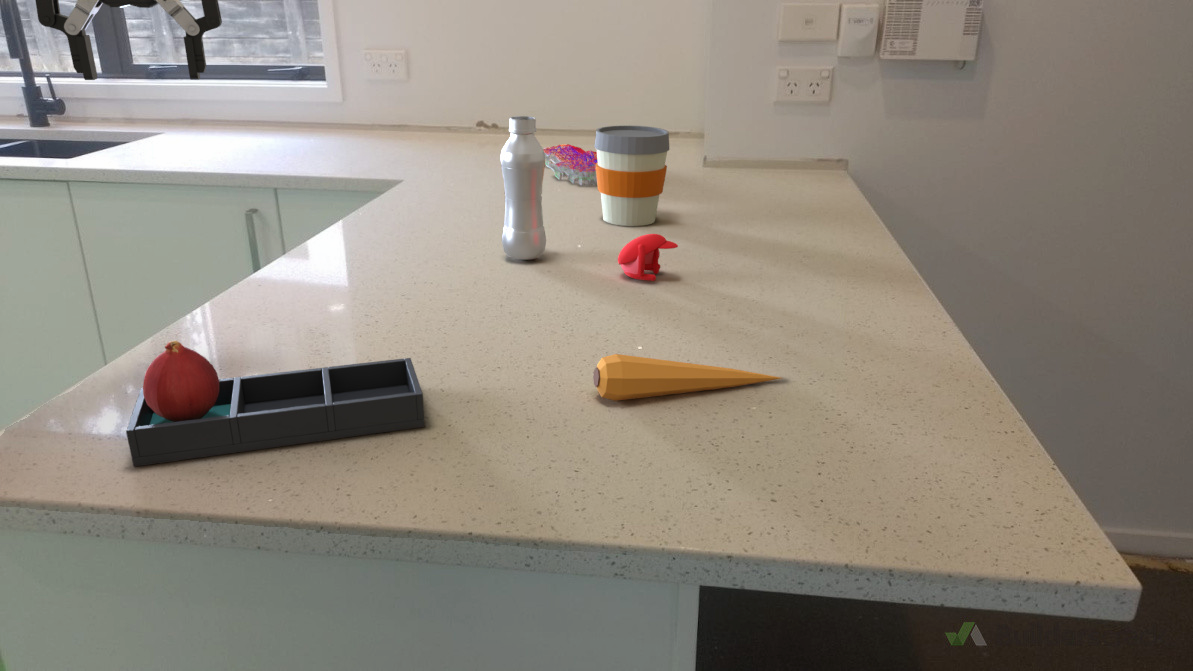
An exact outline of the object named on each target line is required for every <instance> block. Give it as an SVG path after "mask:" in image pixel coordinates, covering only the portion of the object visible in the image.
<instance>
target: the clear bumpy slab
mask: <svg viewBox="0 0 1193 671" xmlns="http://www.w3.org/2000/svg"><path fill="white" fill-rule="evenodd" d="M542 148H543V147H542ZM543 150H544V153H545V157H546V158H545V167H547V168H548V169H550V170H552V171H553V172H554V176H555V177H556V179H558V180H559V181H570V183H571V184H573V185H577V184H578V185H580V186H581V187H585V186H589V185H590V183H594V186H597V175H596V163H597V162H598V160H597V151H594V150H584V149H583V148H581V147H580V146H575V145H573V144H569V143H567V144H564V143H562V144H557V145H556V146H555V145H553V146H550V147H549V146H548V147H544V148H543ZM585 183H586V184H585ZM584 184H585V185H584Z"/></svg>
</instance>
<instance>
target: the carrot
mask: <svg viewBox="0 0 1193 671" xmlns="http://www.w3.org/2000/svg"><path fill="white" fill-rule="evenodd" d="M592 378H593V379H592V381H593V385H594V387H595V388H596V390H597V392H598V394H599V395H600V397H601V398H603V399H607V400H611V401H613V402H616V401H626V400H635V399H641V398H642V399H643V398H652V397H659V396H670V395H678V394H685V393H694V392H701V391H702V392H703V391H711V390H719V389H728V388H736V387H742V386H748V385H753V384H758V383H763V382H770V381H775V380H776V381H777V380H780V379H783V377H781V376H774V375H769V374H764V373H759V372H753V371H748V370H742V369H737V368H729V367H723V366H722V367H721V366H714V365H708V364H707V365H706V364H700V363H699V364H698V363H692V362H691V363H689V362H682V361H675V360H669V359H668V360H667V359H659V358H651V357H643V356H636V355H635V356H634V355H626V354H619V353H614V354H610V355H606V356H603V357H601V358H600V360H599V361H598V363H597V365H596V367H595V368H594V370H593V375H592Z"/></svg>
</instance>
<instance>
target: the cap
mask: <svg viewBox="0 0 1193 671" xmlns="http://www.w3.org/2000/svg"><path fill="white" fill-rule="evenodd" d="M678 247H679V245H678V244H677V243H676V242H674V241H670V240H667V239H666V237H665V236H663V235H661V234H658V233H647V234H643V235H640V236H637V237H636V238H633V239H632V240H630V241H629V242H627V243H626V244H625V245H624V246H623V247H622V249H621V250H619V251H620V252H619V253H618V255H617V263H618V265H619V266H620V267H621V269H622V271H623V272H624V274H625V275H626V276H627V277H629V278H630V279H635V280H640V281H649V282H655V281H656V279H657V276H656V275H658V274H659V273H660V269H661V264H660V263H659V259H660V257H661V256H660V253H661V252H660V250H673V249H675V248H678ZM645 271H647V272H648V271H649V272H653V274H651V273H645Z"/></svg>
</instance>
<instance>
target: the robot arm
mask: <svg viewBox="0 0 1193 671" xmlns="http://www.w3.org/2000/svg"><path fill="white" fill-rule="evenodd" d="M200 1H201V6H202V11H203V16H201V17H198V18H195V16H194V15H193V14H192V13H191V12H190V11H189V10H188V9H187V7H186V6H185V4H183V3H182V1H180V0H76V2H75V4H74V7H73V9H72V10H71V12H70V14H69V15H68V16H67V15H64V14H62V13H61V8H60V2H59V0H35V7H36V14H37V19H38V22H39V24H40V25H41V26H42V27H46V28H51V29H54V30H57V31H60V32H62V33H63V34H64V35H65V36H66V38H67V43H68V46H69V47H68V48H69V52H70V56H71V61H72V62H71V63H72V67H73V69H74V70H75V72H76V73H77V74H82V76H83V79H84V81H95V80H97V79H98V71H97V66H96V62H95V57H94V52H93V46H92V41H91V36H90V34H87V32H86V31H87V28H88V26H89V25H90V23H91V22H92V20H93V19H94V17H95V15H96V14H97V13H98V12H99V10H100V9H101V7H102V5H105V6H107V7H109V8H124V7H128V6H132V7H136V8H139V9H140V8H143V9H150V8H153V7H156V6H158V5H159V6H160V7H161V8H162V9H163V10H164V11H165V12H166V14H168V16H170V17H171V18H172V19H173V20H174V21H175V22H176V23H177V24H178V25H179V26H180V27H181V29H183V30H184V31H185V32H184V33H185V36H183V44H184V48H185V56H186V62H187V69H188V74H189V80H197V81H198V80H200V79H201V74H203V73H205V72H206V70H207V69H206V68H207V61H206V53H205V48H204V41H203V37H204V34H205V33H206V32H209V31H212V30H215V29H218V28H219V27H221V25H222V24H223V20H222V15H221V14H222V13H221V10H220V4H219V0H200Z"/></svg>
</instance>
